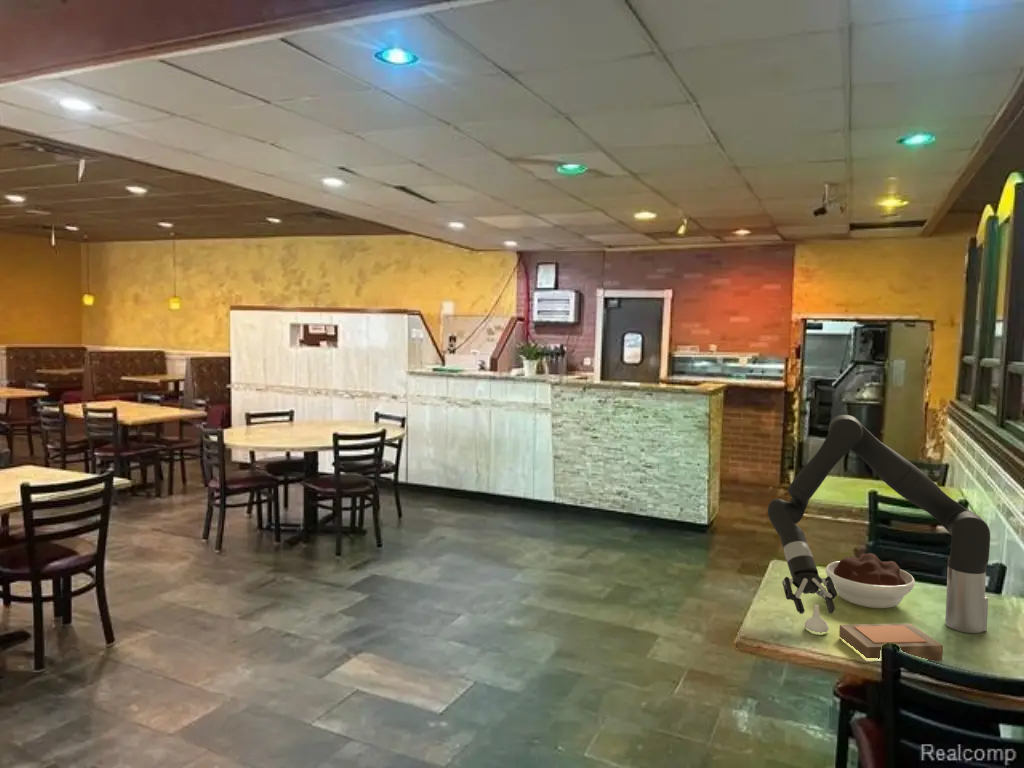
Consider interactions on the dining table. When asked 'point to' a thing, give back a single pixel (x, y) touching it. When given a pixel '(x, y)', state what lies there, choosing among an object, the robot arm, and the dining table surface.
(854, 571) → the bowl of brown food
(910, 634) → the mat
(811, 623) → the garlic bulb
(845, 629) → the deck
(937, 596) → the dining table surface
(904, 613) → the dining table surface
